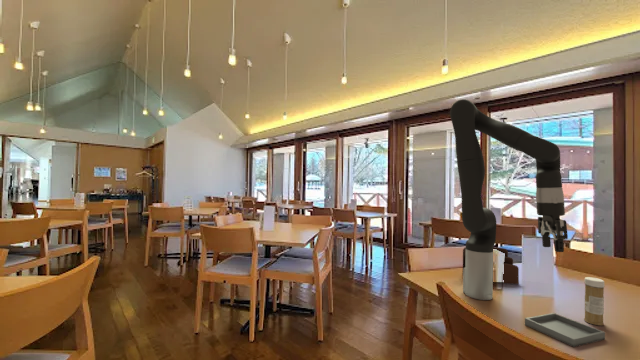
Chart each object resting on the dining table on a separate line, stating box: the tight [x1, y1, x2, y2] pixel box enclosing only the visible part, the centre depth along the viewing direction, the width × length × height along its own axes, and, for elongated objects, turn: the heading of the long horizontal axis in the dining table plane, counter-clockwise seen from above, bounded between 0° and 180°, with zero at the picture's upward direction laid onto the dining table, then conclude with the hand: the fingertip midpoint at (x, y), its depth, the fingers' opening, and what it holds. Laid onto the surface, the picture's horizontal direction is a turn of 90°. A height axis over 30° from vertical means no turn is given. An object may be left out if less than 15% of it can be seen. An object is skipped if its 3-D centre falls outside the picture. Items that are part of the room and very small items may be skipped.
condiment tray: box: [524, 312, 606, 348], centre depth 86 cm, size 13×13×2 cm
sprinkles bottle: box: [583, 276, 605, 326], centre depth 93 cm, size 5×5×14 cm
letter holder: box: [461, 246, 520, 285], centre depth 134 cm, size 10×20×14 cm, turn 84°
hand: (552, 249), depth 101 cm, fingers open, 8 cm apart
